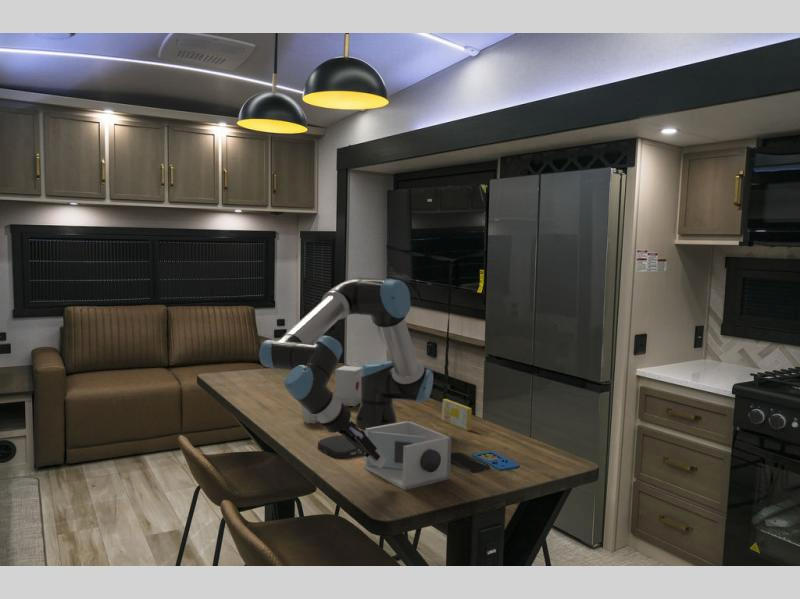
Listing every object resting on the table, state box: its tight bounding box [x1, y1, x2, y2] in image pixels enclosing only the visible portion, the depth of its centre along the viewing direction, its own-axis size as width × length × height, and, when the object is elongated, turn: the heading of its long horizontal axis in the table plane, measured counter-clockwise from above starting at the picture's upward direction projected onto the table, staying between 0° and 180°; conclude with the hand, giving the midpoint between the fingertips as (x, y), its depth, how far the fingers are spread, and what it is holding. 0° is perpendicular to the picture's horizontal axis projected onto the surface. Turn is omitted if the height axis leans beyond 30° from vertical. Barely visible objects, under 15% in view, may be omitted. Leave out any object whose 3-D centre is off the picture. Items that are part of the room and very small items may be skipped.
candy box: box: [441, 398, 473, 432], centre depth 234 cm, size 16×2×8 cm, turn 31°
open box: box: [364, 420, 452, 491], centre depth 182 cm, size 16×22×12 cm
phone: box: [450, 452, 491, 474], centre depth 193 cm, size 8×1×15 cm
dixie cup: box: [300, 404, 319, 424], centre depth 234 cm, size 8×8×10 cm
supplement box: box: [334, 365, 363, 407], centre depth 260 cm, size 9×9×15 cm
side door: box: [369, 431, 426, 469], centre depth 183 cm, size 2×16×10 cm, turn 75°
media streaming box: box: [317, 434, 365, 459], centre depth 204 cm, size 15×15×3 cm
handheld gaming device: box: [471, 450, 520, 472], centre depth 196 cm, size 8×1×15 cm
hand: (382, 463), depth 175 cm, fingers closed
